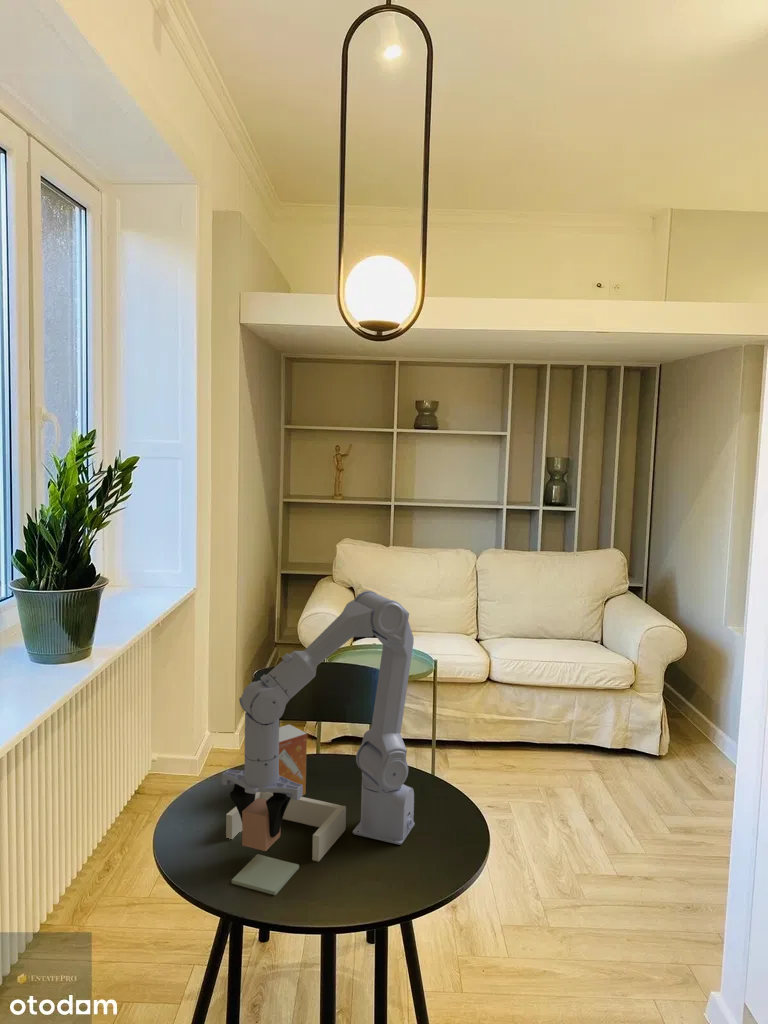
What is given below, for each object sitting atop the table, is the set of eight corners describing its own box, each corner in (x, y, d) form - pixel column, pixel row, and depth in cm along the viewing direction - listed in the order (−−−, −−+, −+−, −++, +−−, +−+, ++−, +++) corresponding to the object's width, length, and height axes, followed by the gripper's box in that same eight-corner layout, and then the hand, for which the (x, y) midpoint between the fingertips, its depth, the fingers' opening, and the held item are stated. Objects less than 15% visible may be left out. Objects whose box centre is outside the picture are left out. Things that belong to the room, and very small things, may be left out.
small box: (273, 807, 142) (274, 743, 141) (255, 796, 146) (255, 733, 145) (306, 794, 147) (307, 732, 146) (288, 783, 152) (288, 723, 151)
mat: (298, 868, 122) (299, 864, 122) (275, 895, 115) (275, 891, 114) (257, 857, 125) (257, 854, 125) (231, 883, 117) (231, 879, 117)
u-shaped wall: (345, 829, 134) (345, 806, 134) (318, 861, 124) (319, 836, 124) (258, 809, 141) (258, 787, 140) (226, 838, 131) (226, 814, 130)
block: (280, 836, 125) (280, 802, 125) (265, 851, 121) (265, 816, 120) (257, 830, 127) (257, 797, 126) (242, 845, 122) (242, 811, 122)
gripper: (211, 755, 121) (211, 833, 122) (288, 771, 116) (288, 852, 117) (234, 740, 128) (234, 814, 129) (308, 754, 122) (308, 831, 124)
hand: (261, 831), depth 124 cm, fingers closed on block, 4 cm apart
